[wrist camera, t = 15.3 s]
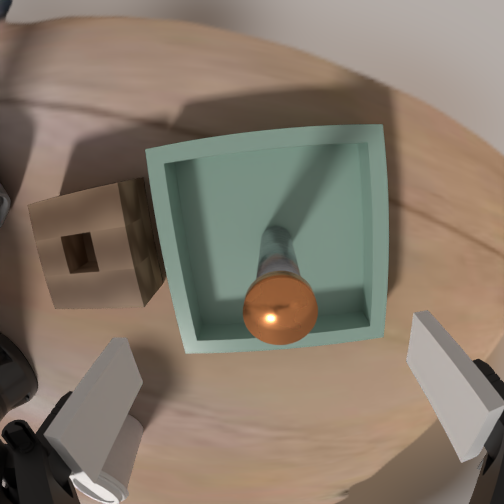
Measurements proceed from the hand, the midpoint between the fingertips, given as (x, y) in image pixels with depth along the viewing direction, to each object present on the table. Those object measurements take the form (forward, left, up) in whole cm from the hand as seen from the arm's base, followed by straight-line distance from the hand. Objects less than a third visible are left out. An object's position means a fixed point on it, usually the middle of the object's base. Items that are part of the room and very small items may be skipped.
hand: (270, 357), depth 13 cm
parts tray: (0, 0, -20) cm, 20 cm away
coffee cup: (-29, +27, -20) cm, 44 cm away
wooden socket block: (+2, +19, -20) cm, 27 cm away
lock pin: (0, 0, -19) cm, 19 cm away
